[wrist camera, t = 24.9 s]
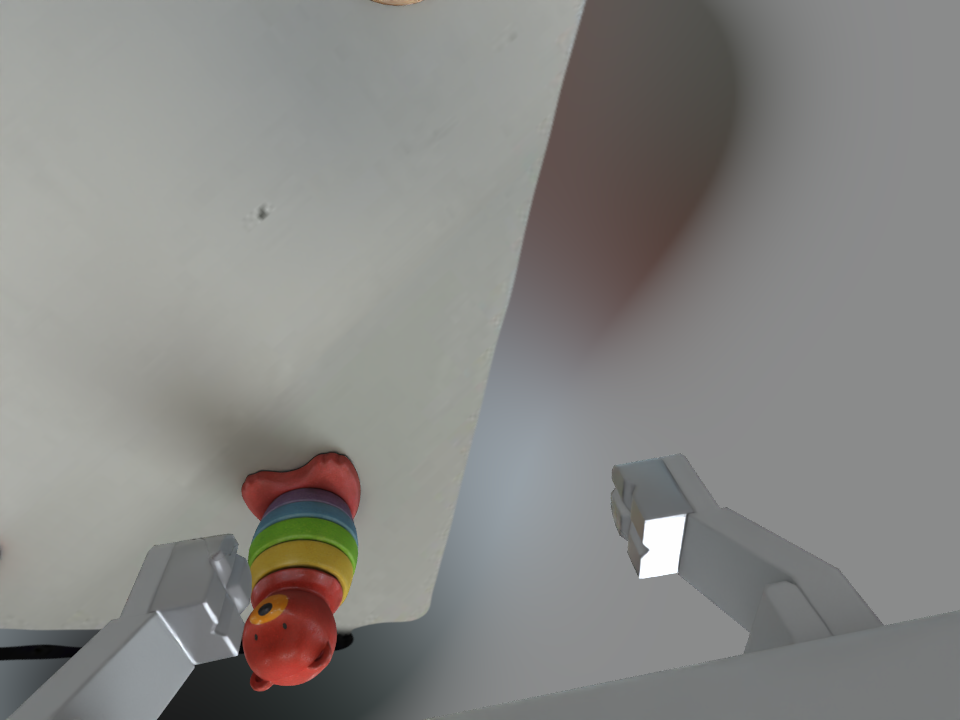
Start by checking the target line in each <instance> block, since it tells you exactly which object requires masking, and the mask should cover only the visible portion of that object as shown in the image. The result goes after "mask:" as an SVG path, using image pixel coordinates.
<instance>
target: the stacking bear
mask: <svg viewBox="0 0 960 720" xmlns="http://www.w3.org/2000/svg"><path fill="white" fill-rule="evenodd" d="M242 497H243V499H244V501H245V503H246V505H247V506H248V508H249V509H250V510H251V512H252V513H253V514H254V515H255V516H256V517H257V518H258V519H259V520H260V521H261V522H260V523H259V525H258V527H257V529H256V532H255V534H254V537H253V540H252V543H251V546H250V549H249V556H248V564H249V567H250V571H251V575H252V593H251V603H252V606H253V609H254V610H253V611H252V613H251V614H250V616H249V617H248V619H247V621H246V623H245V626H244V630H243V649H244V654H245V657H246V660H247V662H248V664H249V666H250V667H251V669H252V670H253V671H254V672H253V674H252V676H251V679H250V684H251V686H252V688H253V689H254V690H256V691H264V690H267V689H268V688H270V687H271V686H272V685H273V684H277V685H282V686H290V685H298V684H301V683H304V682H307V681H309V680H310V679H312V678H314V677H315V676H316V675H317V674H319V673H320V672H321V671H322V670H323V668H324V667H326V666H327V665H328V664H329V662H330V660H331V658H332V654H333V652H334V649H335V645H336V638H337V630H336V623H335V620H334V617H333V614H334V613H335V611H336V610H337V609H338V607H339V606H340V605H341V604H342V603H343V602H344V600H345V599H346V597H347V594H348V592H349V589H350V586H351V582H352V578H353V575H354V572H355V568H356V564H357V557H358V539H357V533H356V528H355V525H354V522H353V519H354V517H355V515H356V512H357V509H358V506H359V501H360V482H359V478H358V474H357V472H356V470H355V468H354V466H353V465H352V463H351V462H350V460H349V459H348V458H347V457H345V456H343V455H338V454H336V453H327V454H321V455H318V456H316V457H314V458H313V459H312V460H311V461H310V462H309V463H308V464H307V465H305V466H304V467H302V468H300V469H297V470H294V471H290V472H285V473H279V472H269V471H261V472H258V473H256V474H253V475H249V476H248V477H247V478H246V480H245V483H244V484H243V486H242Z"/></svg>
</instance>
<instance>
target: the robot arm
mask: <svg viewBox="0 0 960 720" xmlns="http://www.w3.org/2000/svg"><path fill="white" fill-rule="evenodd" d="M612 480H613V482H614V485H615V487H616V488H615V489H614V490H613V491H612V492H611V509H612V515H613V519H614V522H615V525H616V528H617V530H618V532H619V535H620V536H621V537H623V538H624V539H626V540H627V541H628V551H627V553H628V555H629V557H630V559H631V562H632V564H633V566H634V568H635V570H636V573H637V575H638V577H639V579H641V578H647V577H653V576H660V575H666V574H672V573H678V572H679V573H678V575H680V576H681V577H682V578H683V579H684V580H686V581H687V582H688V583H689V584H691V585H692V586H693V587H694V588H695V589H697V590H698V591H699V592H700V593H702V594H703V595H704V596H705V597H707V598H708V599H709V600H711V601H712V602H713V603H714V604H715V605H716V606H718V607H719V608H720V609H721V610H723V611H724V612H725V613H726V614H728V615H729V616H730V617H731V618H732V619H734V620H735V621H736V622H737V623H739V624H740V625H741V626H742V627H743V628H745V629H746V630H747V631H748V632H750V635H749V638H748V642H747V644H746V647H745V651H744V654H742V655H738V656H733V657H728V658H723V659H718V660H713V661H709V662H703V663H698V664H693V665H689V666H684V667H679V668H674V669H669V670H664V671H659V672H654V673H649V674H645V675H640V676H635V677H630V678H625V679H620V680H615V681H610V682H605V683H600V684H595V685H591V686H586V687H581V688H576V689H571V690H566V691H561V692H556V693H551V694H546V695H541V696H537V697H532V698H527V699H522V700H517V701H512V702H507V703H502V704H498V705H493V706H487V707H483V708H478V709H473V710H468V711H463V712H458V713H453V714H448V715H443V716H439V717H434V718H429V719H425V720H960V610H958V611H953V612H948V613H943V614H939V615H934V616H929V617H924V618H919V619H914V620H910V621H904V622H900V623H895V624H890V625H885V626H884V625H883V624H882V622H881V621H880V620H879V619H878V617H877V616H876V615H875V614H874V612H873V611H872V610H871V609H870V607H869V606H868V605H867V604H866V602H865V601H864V600H863V599H862V597H861V596H860V595H859V594H858V592H857V591H856V590H855V589H854V587H853V586H852V585H851V584H850V583H849V581H848V580H847V579H846V577H845V576H844V575H843V574H842V573H841V571H840V570H839V569H838V568H836V567H834V566H832V565H831V564H828V563H827V562H825V561H823V560H822V559H820V558H818V557H816V556H814V555H813V554H811V553H809V552H807V551H805V550H803V549H802V548H800V547H798V546H796V545H794V544H793V543H791V542H789V541H787V540H785V539H784V538H782V537H780V536H778V535H776V534H775V533H773V532H771V531H769V530H767V529H765V528H764V527H762V526H760V525H758V524H756V523H755V522H753V521H751V520H749V519H747V518H746V517H744V516H742V515H740V514H738V513H736V512H735V511H733V510H731V509H729V508H727V507H725V508H720V507H719V506H718V504H717V503H716V501H715V500H714V498H713V497H712V495H711V494H710V492H709V491H708V490H707V488H706V487H705V485H704V484H703V482H702V481H701V479H700V478H699V476H698V475H697V473H696V472H695V470H694V469H693V468H692V466H691V464H690V463H689V461H688V460H687V458H686V457H685V456H684V455H682V454H675V455H669V456H664V457H659V458H653V459H647V460H642V461H636V462H631V463H626V464H620V465H615V466H614V467H613V469H612ZM238 545H239V544H238V543H237V541H236V539H235V537H234V536H233V534H224V535H217V536H210V537H204V538H197V539H190V540H184V541H179V542H173V543H167V544H160V545H154V546H153V547H152V548H151V549H150V550H149V551H148V553H147V555H146V558H145V560H144V562H143V565H142V567H141V569H140V572H139V574H138V576H137V578H136V581H135V583H134V585H133V588H132V590H131V592H130V595H129V597H128V599H127V602H126V604H125V606H124V609H123V611H122V613H121V616H120V618H119V619H114V620H111V621H110V622H109V623H108V624H107V625H106V626H105V627H104V628H103V629H102V630H101V631H99V632H98V633H97V634H96V635H95V636H94V637H93V638H92V639H91V640H90V641H89V642H88V643H87V644H86V645H85V646H84V647H82V648H81V649H80V650H79V651H78V652H77V653H76V654H75V655H74V656H73V657H72V658H71V659H70V660H69V661H68V662H67V663H66V664H65V665H63V666H62V667H61V668H60V669H59V670H58V671H57V672H56V673H55V674H54V675H53V676H52V677H51V678H50V679H49V680H48V681H46V682H45V683H44V684H43V685H42V686H41V687H40V688H39V689H38V690H37V691H36V692H35V693H34V694H33V695H32V696H31V697H29V698H28V699H27V700H26V701H25V702H24V703H23V704H22V705H21V706H20V707H19V708H18V709H17V710H16V711H15V712H14V713H12V714H11V715H10V716H9V717H8V718H7V719H6V720H157V718H158V717H159V716H160V714H161V713H162V711H163V710H164V709H165V707H166V706H167V705H168V703H169V702H170V701H171V699H172V698H173V696H174V695H175V694H176V692H177V691H178V690H179V688H180V687H181V685H182V684H183V683H184V681H185V680H186V678H187V677H188V676H189V675H190V673H191V672H192V671H193V669H194V665H196V664H201V663H205V662H210V661H215V660H219V659H223V658H228V657H233V656H237V655H238V652H239V648H240V643H241V639H242V634H243V630H244V626H245V624H244V622H243V620H242V618H241V616H240V614H241V613H242V612H243V611H244V609H245V608H246V607H247V606H248V605H249V603H250V598H251V593H252V575H251V571H250V567H249V564H248V562H247V560H246V558H244V557H242V556H240V555H238V554H236V553H237V549H238Z"/></svg>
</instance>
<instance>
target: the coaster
mask: <svg viewBox="0 0 960 720" xmlns="http://www.w3.org/2000/svg"><path fill="white" fill-rule="evenodd" d="M371 1H373V2H377V3H381V4H385V5H394V6H398V5H409V4H414V3H418V2H420V1H423V0H371Z"/></svg>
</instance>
